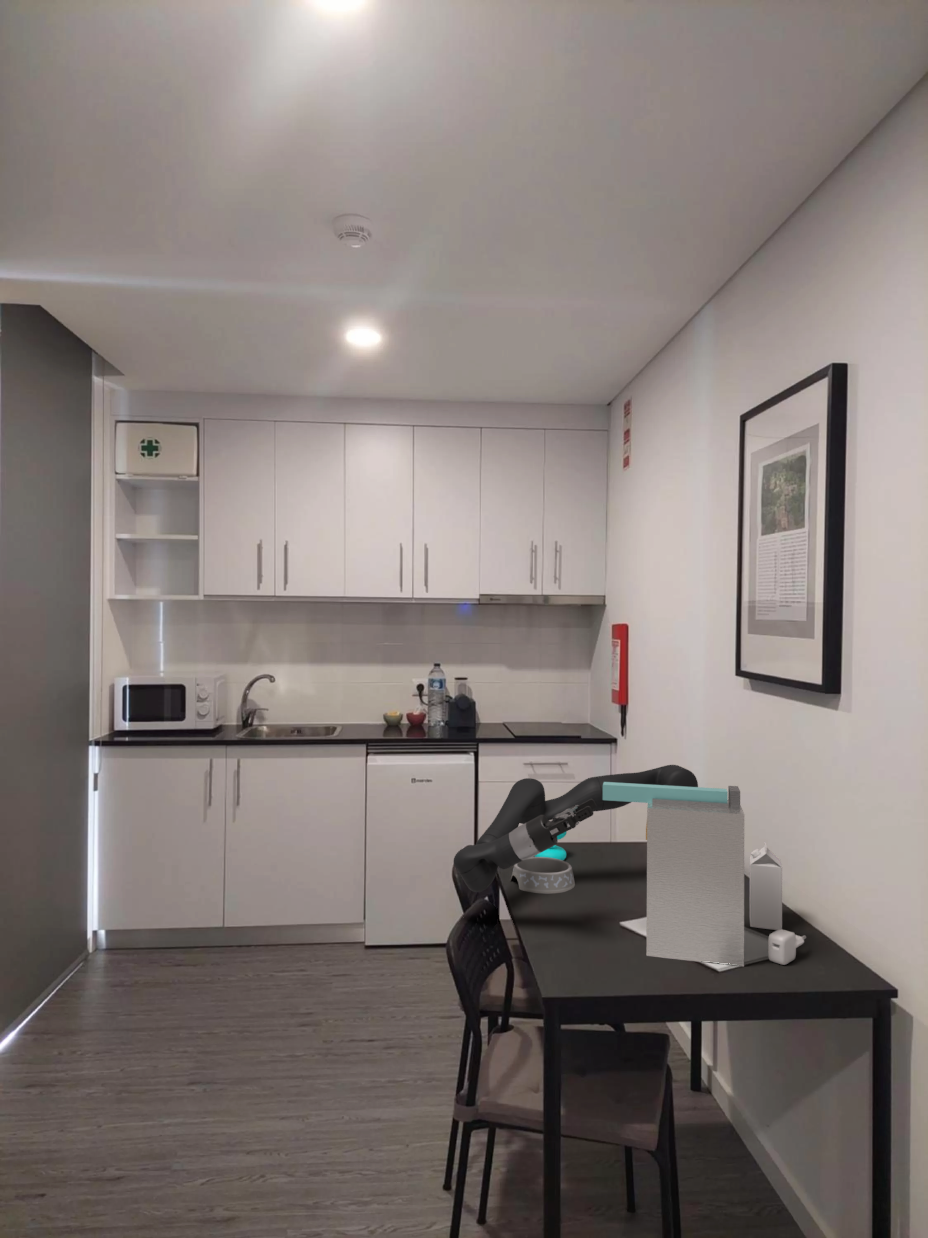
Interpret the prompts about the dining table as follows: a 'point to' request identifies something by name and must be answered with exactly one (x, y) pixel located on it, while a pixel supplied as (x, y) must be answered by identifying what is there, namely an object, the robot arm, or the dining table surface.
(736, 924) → the tall grey box
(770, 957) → the power adapter
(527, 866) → the dog bowl
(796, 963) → the dining table surface
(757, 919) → the milk carton
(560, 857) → the donuts
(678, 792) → the teal tapered block
